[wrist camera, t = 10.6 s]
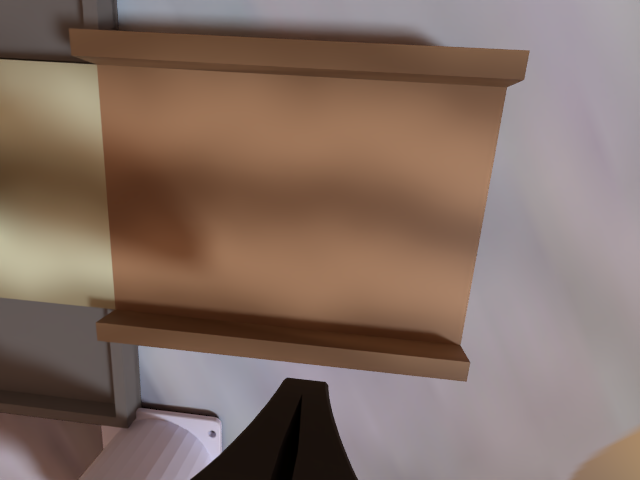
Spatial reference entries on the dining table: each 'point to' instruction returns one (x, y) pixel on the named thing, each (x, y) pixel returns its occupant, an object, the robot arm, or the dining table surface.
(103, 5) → the grey flat board
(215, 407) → the dining table surface
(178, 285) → the brown tray with rims
